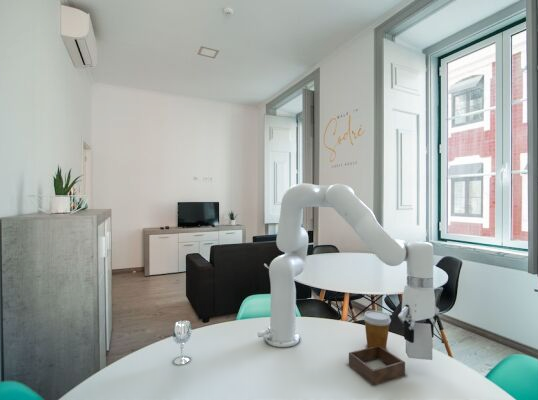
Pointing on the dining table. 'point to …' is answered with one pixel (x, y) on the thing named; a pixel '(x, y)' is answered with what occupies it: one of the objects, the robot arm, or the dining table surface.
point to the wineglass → (182, 338)
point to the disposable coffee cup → (376, 328)
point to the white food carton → (420, 342)
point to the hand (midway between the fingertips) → (418, 338)
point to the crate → (380, 374)
